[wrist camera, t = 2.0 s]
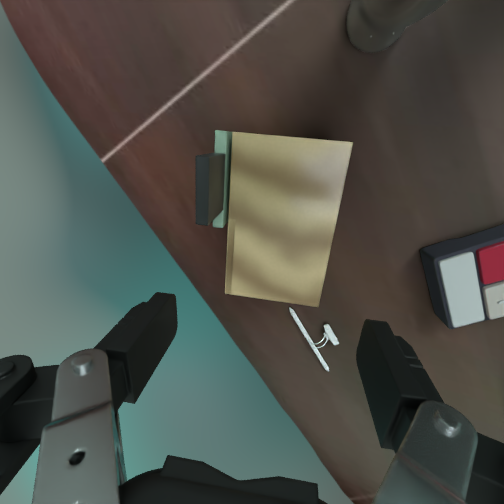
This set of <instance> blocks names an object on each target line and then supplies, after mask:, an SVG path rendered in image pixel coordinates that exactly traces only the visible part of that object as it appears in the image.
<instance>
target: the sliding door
mask: <svg viewBox="0 0 504 504" xmlns="http://www.w3.org/2000/svg"><path fill="white" fill-rule="evenodd" d="M232 133H233V132H228V131H218V130H215V153H209V154H203V155H197V156H196V224H198V225H206V226H208V225H209V224H210V223H211V222H212V221H213V227H219V228H223V227H224V226H225V224H226V223H227V222H228V216H229V195H230V174H231V153H232Z"/></svg>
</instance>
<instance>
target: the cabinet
mask: <svg viewBox="0 0 504 504" xmlns="http://www.w3.org/2000/svg"><path fill="white" fill-rule="evenodd" d="M352 146H353V142H344V141H333V140H321V139H310V138H298V137H287V136H275V135H264V134H252V133H241V132H233V133H232V153H231V174H230V195H229V216H228V237H227V258H226V279H225V294H232V295H239V296H246V297H252V298H259V299H266V300H273V301H280V302H287V303H294V304H300V305H307V306H314V307H318V306H319V302H320V297H321V292H322V288H323V283H324V278H325V273H326V269H327V264H328V259H329V254H330V250H331V245H332V240H333V236H334V231H335V226H336V221H337V217H338V212H339V207H340V202H341V198H342V193H343V188H344V184H345V179H346V174H347V169H348V165H349V160H350V155H351V150H352Z"/></svg>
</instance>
